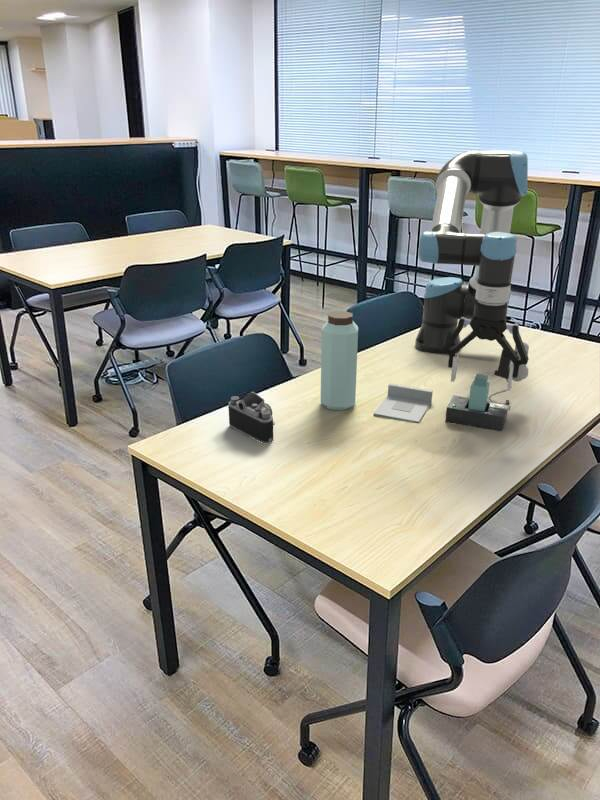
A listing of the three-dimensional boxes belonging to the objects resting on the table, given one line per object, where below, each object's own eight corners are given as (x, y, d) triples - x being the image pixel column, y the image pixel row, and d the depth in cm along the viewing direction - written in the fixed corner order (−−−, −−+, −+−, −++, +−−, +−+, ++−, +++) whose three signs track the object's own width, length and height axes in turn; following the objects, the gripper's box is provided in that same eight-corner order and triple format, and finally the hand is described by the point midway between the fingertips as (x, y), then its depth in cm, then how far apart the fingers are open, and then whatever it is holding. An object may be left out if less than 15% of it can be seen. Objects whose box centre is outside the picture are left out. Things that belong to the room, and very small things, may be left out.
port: (451, 410, 167) (453, 394, 165) (509, 420, 162) (511, 403, 160) (445, 423, 160) (446, 406, 158) (504, 434, 155) (507, 416, 153)
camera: (291, 435, 155) (291, 397, 151) (265, 446, 150) (264, 408, 145) (251, 414, 165) (249, 379, 161) (225, 424, 160) (223, 388, 156)
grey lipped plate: (388, 395, 176) (389, 383, 175) (431, 402, 172) (432, 390, 170) (373, 415, 164) (374, 402, 163) (418, 423, 160) (420, 411, 159)
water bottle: (313, 407, 169) (314, 317, 159) (329, 393, 177) (331, 307, 167) (347, 414, 165) (350, 322, 154) (362, 400, 173) (366, 312, 162)
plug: (469, 415, 163) (474, 372, 158) (485, 418, 162) (490, 374, 157) (466, 421, 160) (471, 378, 155) (482, 424, 158) (488, 380, 154)
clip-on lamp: (504, 418, 163) (514, 353, 155) (482, 411, 167) (491, 346, 159) (526, 404, 170) (536, 341, 163) (504, 397, 174) (514, 335, 167)
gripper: (434, 299, 149) (427, 381, 159) (546, 312, 140) (531, 398, 149) (441, 291, 156) (434, 370, 165) (549, 303, 147) (534, 386, 156)
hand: (480, 384), depth 157 cm, fingers open, 13 cm apart
